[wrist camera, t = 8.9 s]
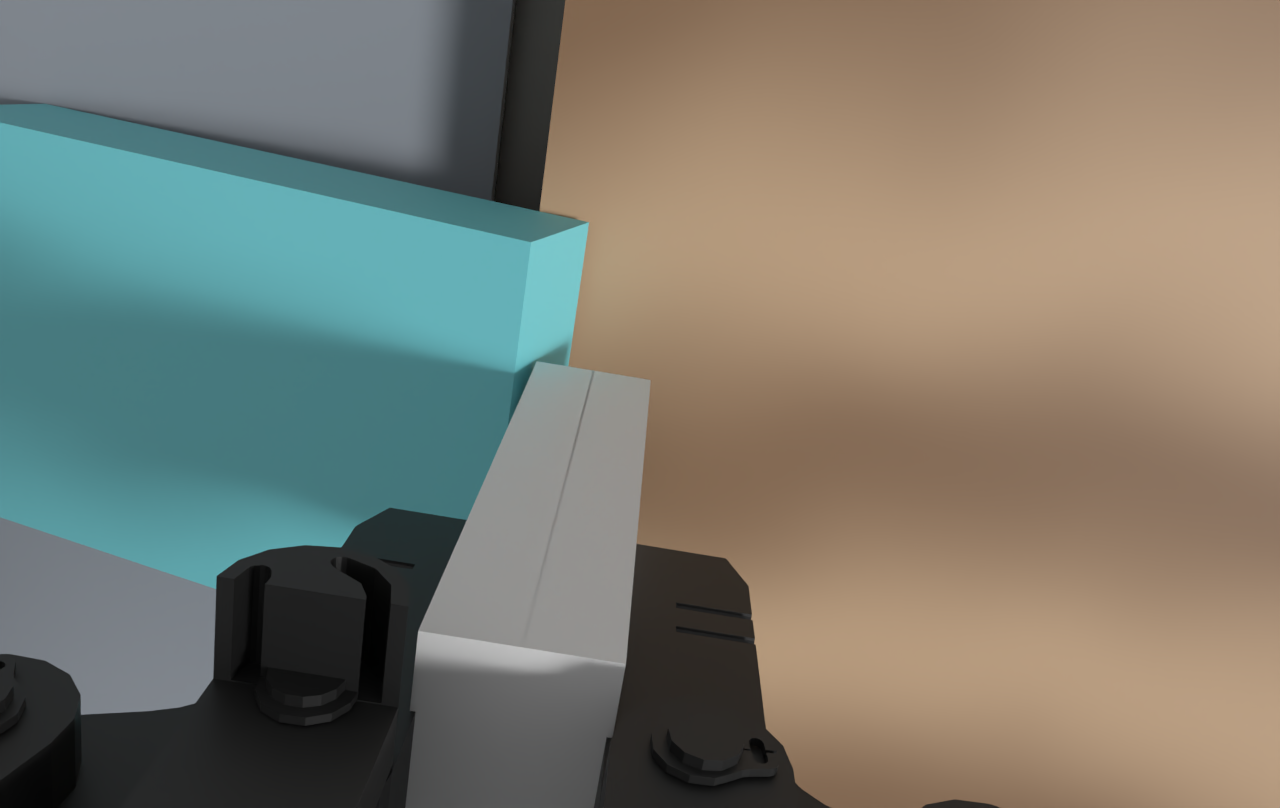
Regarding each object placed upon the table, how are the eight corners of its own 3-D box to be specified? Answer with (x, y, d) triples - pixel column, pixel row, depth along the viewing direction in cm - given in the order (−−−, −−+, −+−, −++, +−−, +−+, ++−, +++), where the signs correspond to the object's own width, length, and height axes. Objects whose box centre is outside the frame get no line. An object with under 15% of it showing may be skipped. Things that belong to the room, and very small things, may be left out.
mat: (424, 840, 21) (420, 851, 21) (-334, 725, 21) (-347, 735, 21) (550, -325, 15) (548, -332, 14) (-549, -511, 14) (-574, -522, 14)
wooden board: (1697, 950, 21) (1827, 1067, 19) (485, 765, 21) (459, 859, 18) (2217, 116, 16) (2488, 131, 13) (603, -153, 15) (588, -186, 13)
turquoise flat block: (533, 609, 16) (476, 675, 15) (53, 459, 18) (-50, 500, 17) (588, 222, 14) (530, 242, 13) (45, 103, 16) (-74, 105, 15)
